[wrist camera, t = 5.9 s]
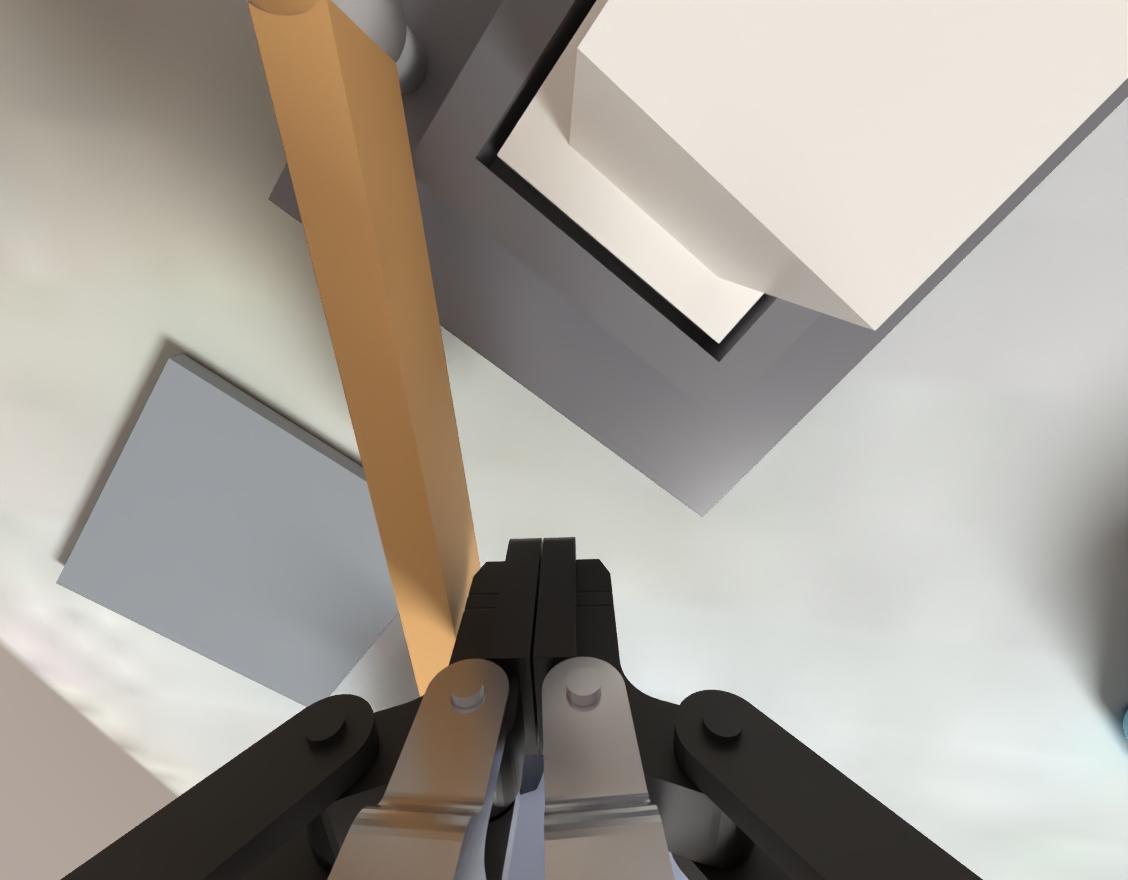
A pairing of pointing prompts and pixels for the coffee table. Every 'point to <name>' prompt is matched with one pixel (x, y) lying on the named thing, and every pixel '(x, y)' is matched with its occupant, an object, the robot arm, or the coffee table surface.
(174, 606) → the mat
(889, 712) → the coffee table surface
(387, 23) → the orange rod with knob
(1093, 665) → the coffee table surface
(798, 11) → the plug
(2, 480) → the coffee table surface
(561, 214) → the socket block
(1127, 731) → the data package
